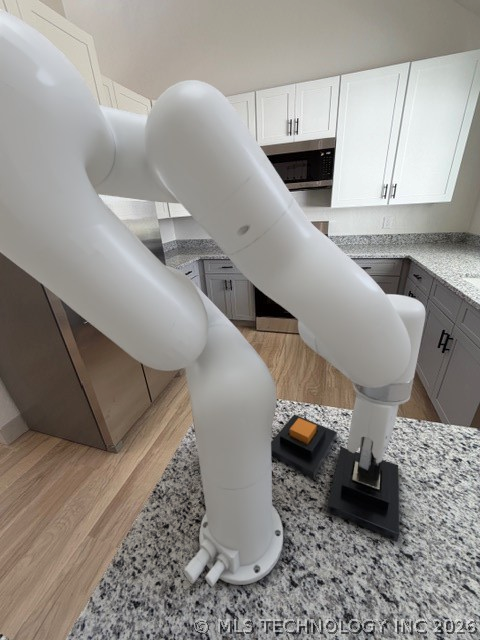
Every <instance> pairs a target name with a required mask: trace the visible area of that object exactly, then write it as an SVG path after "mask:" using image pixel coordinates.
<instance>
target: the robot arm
mask: <svg viewBox="0 0 480 640" xmlns="http://www.w3.org/2000/svg"><path fill="white" fill-rule="evenodd" d="M100 196H107V197H108V196H109V197H115V198H116V197H117V198H123V199H124V198H125V199H131V200H138V201H139V200H140V201H147V202H154V203H156V202H157V203H166V204H167V203H168V204H178V205H179V204H181V206H182V207H183V208H184V209H185V210H186V211H187V213H188V214H190V216H191V217H192V218H193V219H194V220H195V222H196V223H198V225H199V226H200V227H201V228H202V229H203V230H204V232H205V233H206V234H207V235H208V236H209V237H210V238H211V240H212V241H214V243H215V244H216V245H217V246H218V247H219V249H220V250H221V251H222V252H223V253H224V254H225V256H227V258H228V259H229V260H230V261H231V263H233V265H234V266H235V267H236V268H237V269H238V270H239V272H240V273H241V274H242V275H243V277H245V278H246V279H247V280H248V281H249V282H250V283H251V284H252V285H254V286H255V288H257V289H258V290H259V291H260V292H262V293H263V294H264V295H265V296H267V297H268V298H269V299H271V300H272V301H274V302H275V304H278V305H279V306H280V307H282V308H283V309H284V310H285V311H287V312H288V313H290V314H291V315H292V316H293V317H294V318H295V319H297V320H298V321H297V330H298V334H299V336H300V338H301V340H302V341H303V342H304V344H305V345H306V346H307V347H309V348H310V349H311V350H312V351H313V352H314V353H316V354H317V355H318V356H320V357H321V358H322V359H324V360H325V361H327V363H329V364H330V365H331V366H333V367H334V368H335V369H336V370H337V371H339V372H340V373H341V374H343V375H344V376H345V377H346V378H347V379H348V380H349V381H351V382H352V387H353V390H354V392H356V393H357V394H356V397H355V400H354V404H353V409H352V413H351V414H352V415H351V421H350V425H349V432H348V439H347V445H346V449H348V451H350V452H352V453H355V452H358V450H359V453H360V454H359V461H358V470H357V471H358V473H360V474H362V475H364V476H366V477H368V478H370V479H372V480H374V481H378V479H379V476H380V472H381V466H382V460H384V459H383V458H384V456H385V453H386V451H387V448H388V446H389V443H390V441H391V439H392V434H393V431H394V428H395V425H396V421H397V416H398V411H399V406H400V405H403V404H405V403H407V402H408V401H409V400H410V399H411V395H412V390H413V384H414V378H415V374H416V368H417V362H418V358H419V352H420V348H421V343H422V337H423V331H424V326H425V321H426V313H427V312H426V307H425V305H424V304H423V303H422V302H421V301H419V299H417V298H414V297H411V296H407V295H402V294H396V293H395V294H394V293H393V294H392V293H385V292H384V290H383V289H382V288H381V286H380V285H379V284H378V283H377V282H376V281H375V279H373V278H372V276H370V275H369V273H367V272H366V270H364V269H363V268H362V267H361V266H360V265H359V264H357V262H355V260H353V259H352V257H349V255H347V253H345V252H344V251H343V250H342V248H340V247H339V246H338V245H337V244H336V243H335V242H334V241H333V240H332V239H331V238H329V237H328V236H327V235H326V234H324V233H323V232H322V231H321V230H320V229H318V228H317V227H316V226H315V225H314V224H313V223H312V221H311V220H310V219H309V218H308V217H307V215H306V214H305V212H304V210H303V209H302V208H301V206H300V205H299V203H298V202H297V200H296V199H295V198H294V195H292V193H291V192H290V190H289V188H288V187H287V185H286V184H285V182H284V181H283V179H282V178H281V176H280V174H279V173H278V171H277V170H276V168H275V167H274V166H273V163H272V162H271V161H270V160H269V158H268V157H267V155H266V153H265V151H264V150H263V148H262V147H261V146H260V143H258V141H257V140H256V137H255V136H254V134H252V132H251V130H250V129H249V127H248V126H247V125H246V123H245V121H244V120H243V118H242V117H241V115H240V114H239V112H238V111H237V109H236V108H235V107H234V106H233V104H232V103H231V102H230V100H229V99H228V98H227V97H226V96H225V95H224V94H223V93H222V92H221V91H220V90H219V89H218V88H216V87H215V86H213V85H211V84H210V83H207V82H206V81H203V80H198V79H189V80H182V81H179V82H177V83H175V84H172V85H171V86H169V87H168V88H167V89H165V90H164V91H163V92H162V93H161V94H160V95H159V96H158V97H157V99H156V100H155V101H154V103H153V104H152V106H151V108H150V110H149V113H148V114H143V113H138V112H134V111H128V110H125V109H121V108H115V107H110V106H106V105H103V104H102V105H101V104H98V102H97V99H96V97H95V96H94V94H93V92H92V90H91V88H90V87H89V85H88V83H87V81H86V80H85V79H84V76H83V75H82V74H81V73H80V71H78V68H76V67H75V65H74V64H73V63H72V61H70V60H69V58H68V57H67V56H66V54H64V53H63V52H62V51H61V50H60V49H59V48H58V47H57V46H56V45H55V44H53V42H51V41H50V40H49V39H48V38H47V37H46V36H45V35H44V34H42V33H41V32H40V31H38V30H37V29H36V28H35V27H33V26H31V25H30V24H29V23H27V22H25V21H24V20H22V19H21V18H19V17H18V16H16V15H14V14H12V13H10V12H8V11H6V10H5V9H2V8H0V254H2V255H3V256H4V257H6V258H7V259H9V260H10V261H11V262H13V263H14V264H15V265H16V266H17V267H19V268H20V269H22V270H23V271H24V272H25V273H27V274H28V275H30V276H31V277H32V278H33V279H35V280H36V281H37V282H38V283H40V284H41V285H42V286H44V287H45V289H48V290H49V291H50V292H51V293H53V294H54V295H55V296H56V297H57V298H58V299H60V300H61V301H62V302H63V303H64V304H65V305H67V306H68V307H69V308H70V309H72V311H74V312H75V313H76V314H78V315H79V316H80V317H81V318H83V319H84V320H85V321H86V322H88V323H89V324H90V325H91V326H92V327H94V328H95V329H97V331H99V332H101V333H102V334H103V335H104V336H106V337H107V338H108V339H109V340H111V341H112V342H113V343H114V344H115V345H117V346H118V347H119V348H120V349H122V350H123V351H124V352H125V353H127V355H129V356H130V357H131V358H133V359H134V360H136V361H137V362H139V363H140V364H142V365H144V366H145V367H148V368H151V369H154V370H157V371H164V372H171V371H178V370H183V369H184V371H185V378H186V384H187V388H188V395H189V401H190V406H191V414H192V413H193V415H192V420H193V419H194V423H193V426H194V425H195V431H194V435H195V434H196V437H195V442H196V449H197V456H198V464H199V469H200V475H201V476H200V477H201V484H202V490H203V498H204V506H205V513H204V515H203V518H202V520H201V523H200V528H199V535H198V536H199V537H198V538H199V539H198V541H199V550H198V551H197V553H196V554H195V555H194V556H193V557H192V559H191V560H190V561H189V562H188V563H187V565H185V567H184V568H183V570H182V571H183V574H184V576H185V577H186V579H187V580H188V582H190V583H191V584H195V582H196V581H197V579H198V578H199V577H200V576H201V574H202V572H204V569H205V567H206V566H207V568H208V569H209V571H208V572H207V573H206V575H205V576H204V577H205V578H204V579H205V581H206V583H207V584H208V585H209V586H210V587H211V588H213V587H214V586H215V585H216V583H217V582H218V580H219V579H220V581H223V582H225V583H228V584H231V585H234V586H235V585H242V586H245V585H249V584H254V583H256V582H257V581H260V580H262V579H263V578H265V577H266V576H267V575H268V574H269V573H270V572H271V571H272V570H273V568H275V566H276V564H277V563H278V561H279V559H280V557H281V553H282V550H283V545H284V528H283V522H282V520H281V519H282V518H281V516H280V515H279V512H278V510H277V508H276V507H275V506H274V505H273V465H272V464H273V462H272V461H273V460H272V459H273V458H272V456H271V442H272V430H273V423H274V419H275V415H276V410H277V404H278V393H277V386H276V382H275V379H274V377H273V375H272V372H271V371H270V369H269V367H268V366H267V364H266V362H265V361H264V360H263V358H262V357H261V356H260V353H258V352H257V350H256V349H255V348H254V347H253V346H252V345H251V343H249V342H248V340H247V339H246V338H245V336H244V335H243V334H242V332H241V331H240V330H239V329H238V328H237V326H236V325H234V323H233V322H232V321H231V320H230V319H229V318H228V317H227V316H226V315H225V314H224V313H223V312H222V311H221V310H220V309H219V308H218V307H217V305H216V304H215V303H214V302H212V300H211V299H210V298H209V297H208V296H207V295H206V294H205V293H204V292H203V291H202V290H201V288H200V287H198V285H196V283H195V282H194V281H193V280H192V279H191V278H190V277H188V275H186V274H185V273H184V272H183V271H181V270H179V269H177V268H175V267H172V266H170V265H165V264H164V263H163V262H162V261H161V260H160V259H159V258H158V257H157V256H156V255H155V254H154V253H153V252H152V251H151V250H150V249H149V248H148V247H147V246H146V244H144V243H143V241H142V240H141V239H139V237H138V236H137V235H136V234H135V233H134V231H133V230H132V229H131V228H130V227H129V226H128V225H127V224H126V223H125V222H124V221H123V220H122V219H120V217H118V215H117V214H116V213H114V211H113V210H112V209H111V208H110V207H109V206H108V205H107V204H106V203H105V202H104V200H103V199H102V198H101V197H100Z"/></svg>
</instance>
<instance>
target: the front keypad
mask: <svg viewBox="0 0 480 640" xmlns="http://www.w3.org/2000/svg"><path fill="white" fill-rule="evenodd" d="M359 454H360V451H359V452H358V451H356V452H355V453H352V452H350V451H348V448H347V447H342V446H340V448H339V452H338V458H337V461H336V466H335V467H336V468H335V471H334V474H333V479H332V484H331V488H330V492H329V497H328V502H327V507H326V512H327V513H328V514H331V515H333V516H335V517H338V518H340V519H343V520H345V521H346V522H347V521H348V522H350V523H352V524H354V525H357V526H359V527H361V528H364V529H366V530H368V531H371V532H373V533H375V534H378V535H380V536H381V537H384V538H387V539H390V540H392V541H394V542H396V543H398V542H399V539H400V486H399V483H400V482H399V481H400V479H399V474H400V473H399V464H396V463H394V462H390V461H388V460H387V461H386V460H384V459H383V460H382V466H381V472H380V487H379V492H377V491H375V490H372V489H369V488H366V487H364V486H361V485H358V484H355V483H353V482H352V479H353V473H354V467H355V461H356V462H358V461H359Z"/></svg>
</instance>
